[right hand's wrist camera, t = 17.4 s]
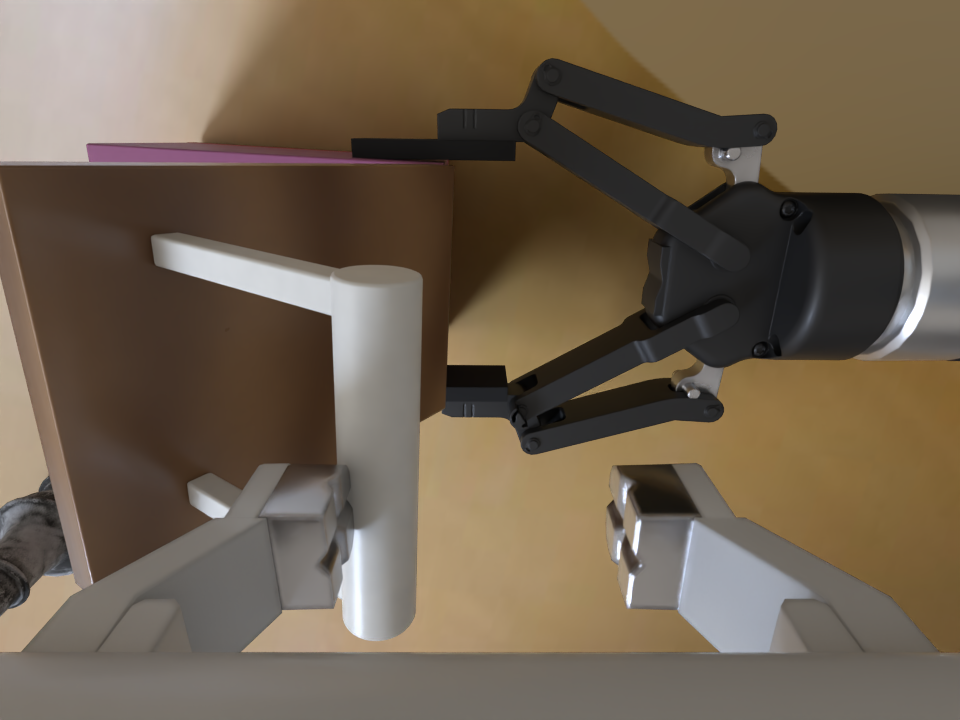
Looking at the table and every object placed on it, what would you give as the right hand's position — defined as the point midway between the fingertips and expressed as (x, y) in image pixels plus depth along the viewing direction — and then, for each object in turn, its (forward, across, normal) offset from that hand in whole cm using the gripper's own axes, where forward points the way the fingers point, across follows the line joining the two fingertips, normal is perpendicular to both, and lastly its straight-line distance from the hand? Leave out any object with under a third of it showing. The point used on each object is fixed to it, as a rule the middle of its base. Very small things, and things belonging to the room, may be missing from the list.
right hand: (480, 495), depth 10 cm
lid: (+8, +6, 0) cm, 10 cm away
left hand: (+17, +5, 0) cm, 18 cm away
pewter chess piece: (+23, +27, +17) cm, 39 cm away
